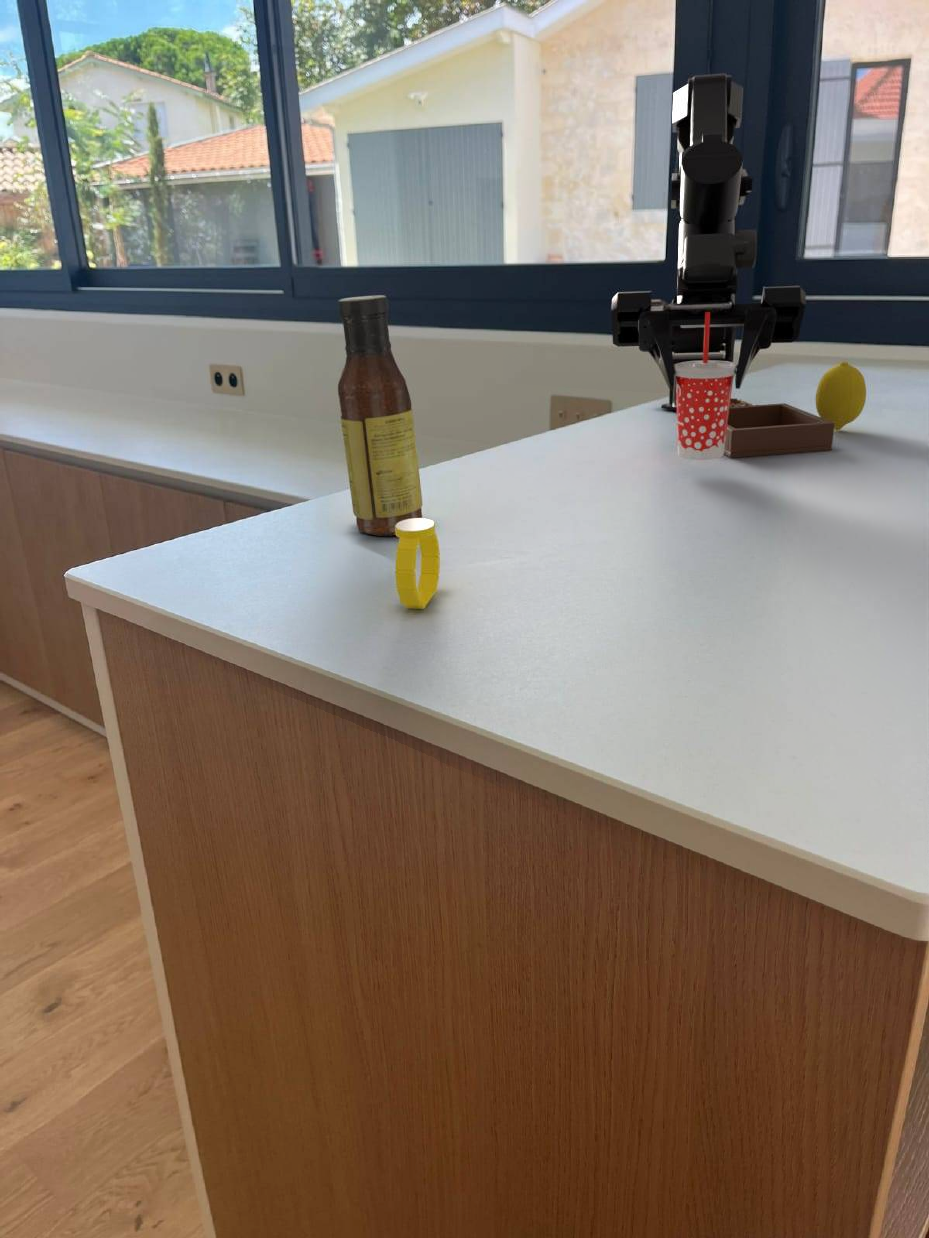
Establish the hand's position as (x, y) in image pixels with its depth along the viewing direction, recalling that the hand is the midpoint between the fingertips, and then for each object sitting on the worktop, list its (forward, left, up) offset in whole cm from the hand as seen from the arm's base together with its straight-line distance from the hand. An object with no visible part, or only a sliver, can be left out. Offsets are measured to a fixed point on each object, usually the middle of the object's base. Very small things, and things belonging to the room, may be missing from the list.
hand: (704, 386), depth 93 cm
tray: (-5, +16, -9) cm, 19 cm away
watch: (+9, -41, -9) cm, 42 cm away
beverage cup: (-1, +1, -7) cm, 7 cm away
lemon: (-2, +27, -9) cm, 29 cm away
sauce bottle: (-8, -33, -9) cm, 35 cm away
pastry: (-16, +25, -9) cm, 31 cm away
